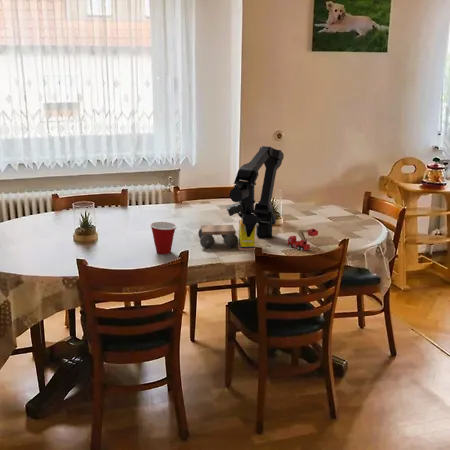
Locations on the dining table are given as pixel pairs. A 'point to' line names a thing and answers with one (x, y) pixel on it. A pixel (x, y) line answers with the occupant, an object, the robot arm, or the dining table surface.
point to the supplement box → (243, 239)
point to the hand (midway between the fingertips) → (246, 233)
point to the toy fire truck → (303, 242)
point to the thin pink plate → (244, 248)
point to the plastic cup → (163, 236)
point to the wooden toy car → (224, 230)
